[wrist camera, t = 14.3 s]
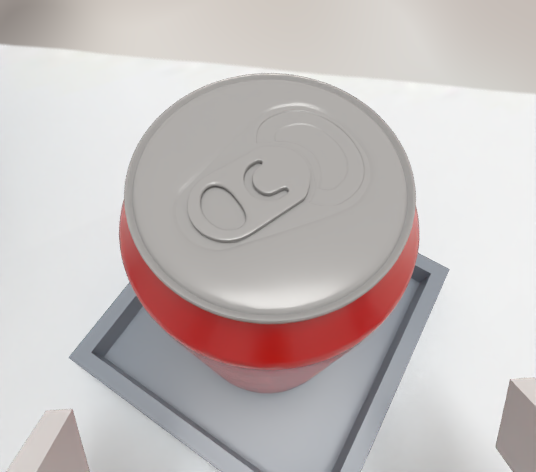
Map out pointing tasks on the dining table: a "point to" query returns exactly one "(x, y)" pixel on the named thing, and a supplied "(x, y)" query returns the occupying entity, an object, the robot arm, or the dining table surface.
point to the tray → (261, 404)
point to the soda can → (269, 226)
